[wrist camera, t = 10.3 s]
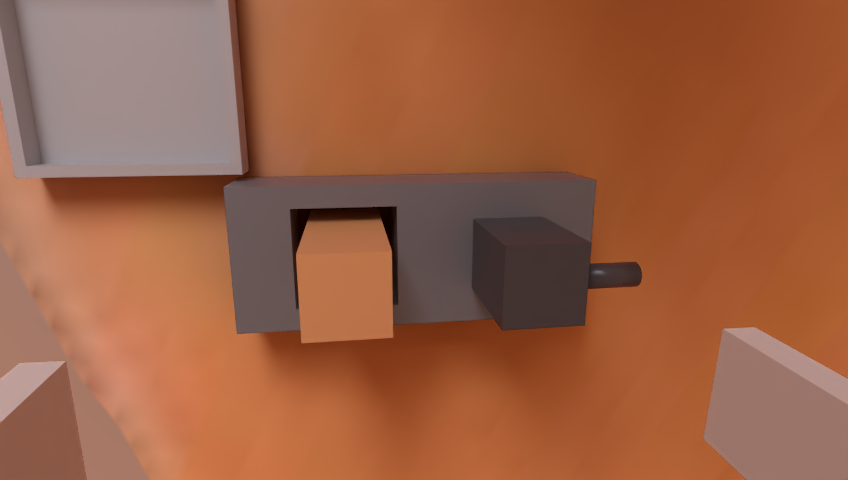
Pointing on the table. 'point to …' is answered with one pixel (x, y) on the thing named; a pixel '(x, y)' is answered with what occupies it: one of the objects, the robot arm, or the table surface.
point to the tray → (122, 88)
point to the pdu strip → (431, 246)
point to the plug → (344, 277)
